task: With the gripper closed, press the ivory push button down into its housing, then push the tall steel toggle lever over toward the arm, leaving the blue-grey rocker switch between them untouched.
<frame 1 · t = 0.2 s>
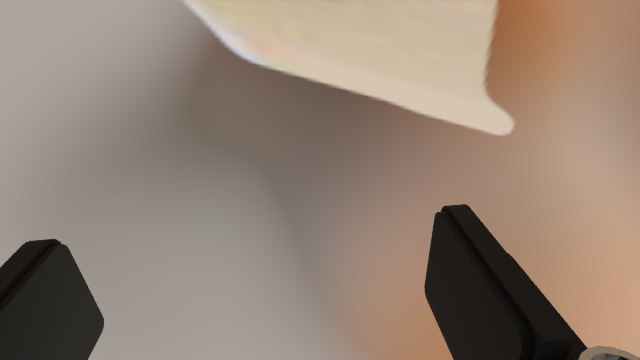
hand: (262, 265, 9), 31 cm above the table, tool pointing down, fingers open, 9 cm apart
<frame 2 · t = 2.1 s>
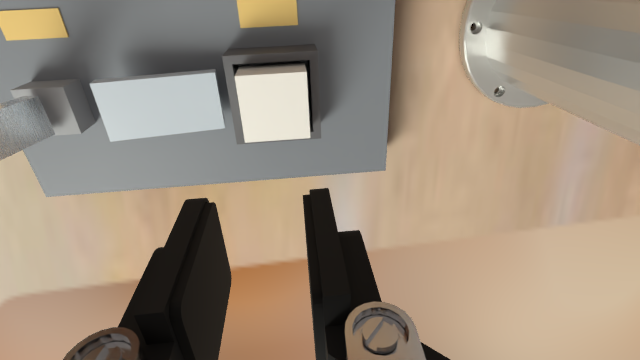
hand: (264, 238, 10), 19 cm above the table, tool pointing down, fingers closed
rocker switch: (163, 105, 22), point 5 cm above the table, hinge at -8.0°
switch panel: (210, 83, 27), on the table
push button: (274, 102, 22), point 6 cm above the table, slide at 0.0 cm
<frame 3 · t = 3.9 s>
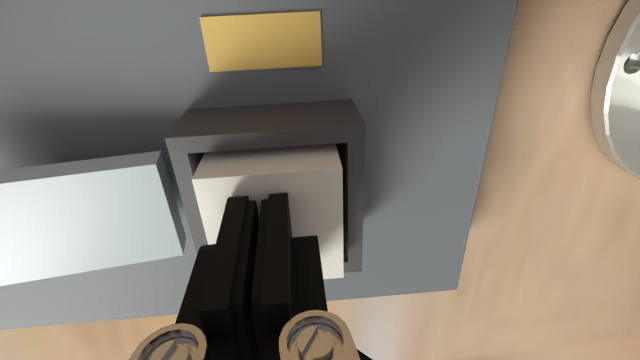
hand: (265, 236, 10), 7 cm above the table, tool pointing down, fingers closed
rocker switch: (59, 221, 11), point 5 cm above the table, hinge at -8.0°
switch panel: (168, 151, 16), on the table
push button: (276, 210, 11), point 5 cm above the table, slide at 0.7 cm, touching gripper
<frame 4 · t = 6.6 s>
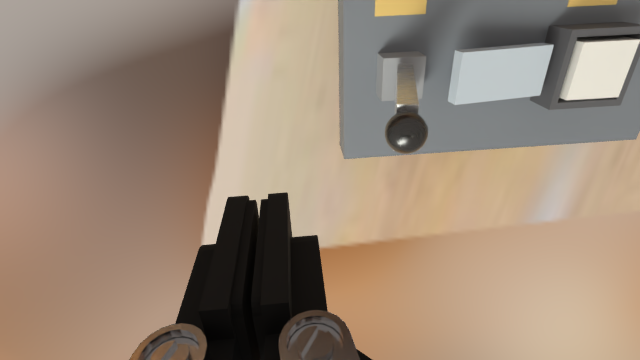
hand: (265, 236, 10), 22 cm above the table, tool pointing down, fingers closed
rocker switch: (499, 73, 26), point 5 cm above the table, hinge at -8.0°
switch panel: (492, 58, 30), on the table
push button: (589, 67, 26), point 5 cm above the table, slide at 1.3 cm
toggle lever: (404, 104, 20), point 11 cm above the table, hinge at 15.0°
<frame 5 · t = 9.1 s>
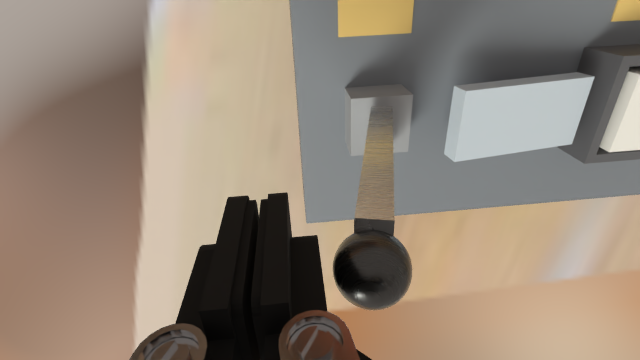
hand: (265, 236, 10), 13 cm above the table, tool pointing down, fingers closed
rocker switch: (516, 116, 18), point 5 cm above the table, hinge at -8.0°
switch panel: (501, 88, 23), on the table
toggle lever: (377, 184, 13), point 11 cm above the table, hinge at 14.9°, touching gripper
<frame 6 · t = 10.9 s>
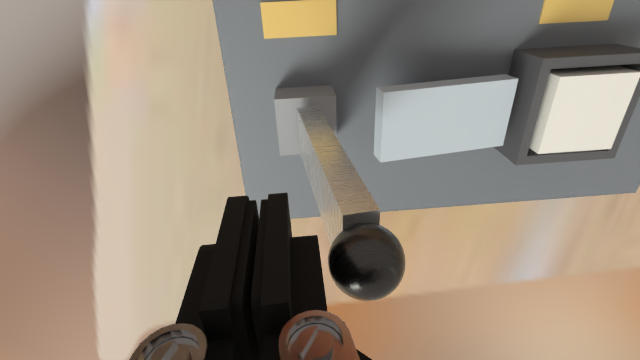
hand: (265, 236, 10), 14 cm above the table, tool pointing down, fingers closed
rocker switch: (443, 118, 18), point 5 cm above the table, hinge at -8.0°
switch panel: (444, 89, 23), on the table
push button: (570, 107, 19), point 5 cm above the table, slide at 1.3 cm
toggle lever: (331, 182, 13), point 11 cm above the table, hinge at -6.6°, touching gripper
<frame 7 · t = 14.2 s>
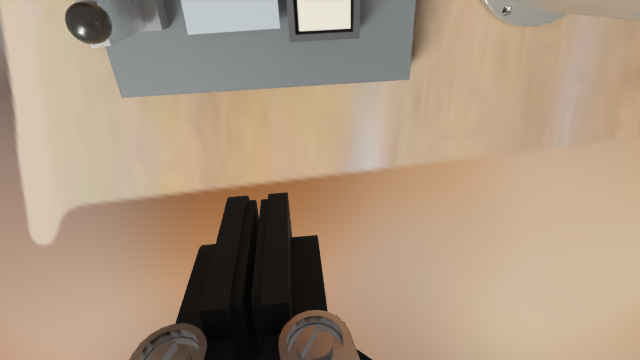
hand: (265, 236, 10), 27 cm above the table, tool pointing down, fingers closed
rocker switch: (231, 5, 27), point 5 cm above the table, hinge at -8.0°
switch panel: (261, 0, 31), on the table
push button: (322, 0, 28), point 5 cm above the table, slide at 1.3 cm
toggle lever: (114, 16, 22), point 11 cm above the table, hinge at -6.7°
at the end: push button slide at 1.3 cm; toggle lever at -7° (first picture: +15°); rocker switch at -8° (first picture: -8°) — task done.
